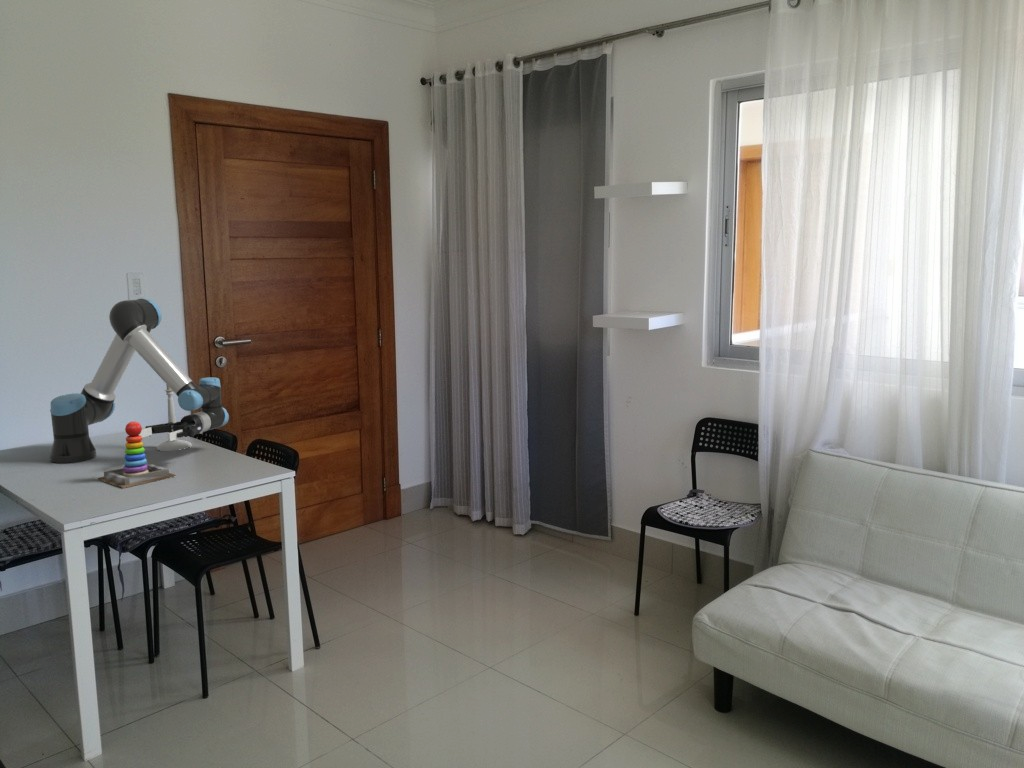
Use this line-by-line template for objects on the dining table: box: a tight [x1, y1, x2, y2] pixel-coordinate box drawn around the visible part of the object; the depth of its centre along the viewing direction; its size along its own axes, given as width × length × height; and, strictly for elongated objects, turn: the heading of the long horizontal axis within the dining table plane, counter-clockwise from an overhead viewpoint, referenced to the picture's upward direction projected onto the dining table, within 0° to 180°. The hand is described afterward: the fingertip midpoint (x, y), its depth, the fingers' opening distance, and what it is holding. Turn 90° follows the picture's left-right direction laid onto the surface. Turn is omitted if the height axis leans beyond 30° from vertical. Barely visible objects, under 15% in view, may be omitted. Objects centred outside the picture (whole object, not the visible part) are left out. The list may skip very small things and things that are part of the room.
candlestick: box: [156, 383, 193, 452], centre depth 323 cm, size 13×13×30 cm
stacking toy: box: [122, 421, 149, 477], centre depth 280 cm, size 8×8×19 cm
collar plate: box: [97, 462, 177, 489], centre depth 281 cm, size 18×18×3 cm
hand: (152, 436), depth 288 cm, fingers open, 13 cm apart
